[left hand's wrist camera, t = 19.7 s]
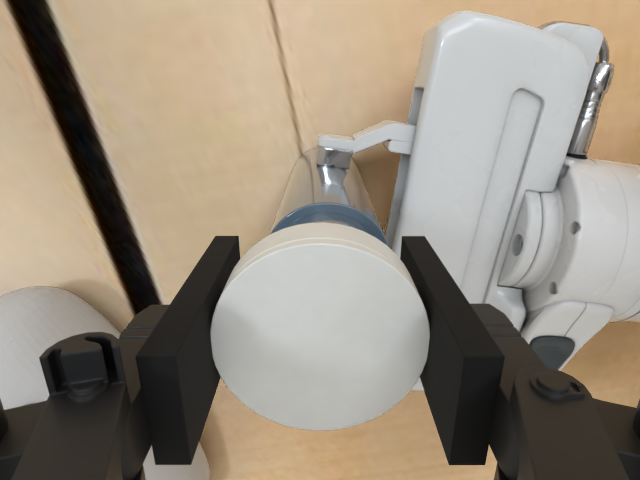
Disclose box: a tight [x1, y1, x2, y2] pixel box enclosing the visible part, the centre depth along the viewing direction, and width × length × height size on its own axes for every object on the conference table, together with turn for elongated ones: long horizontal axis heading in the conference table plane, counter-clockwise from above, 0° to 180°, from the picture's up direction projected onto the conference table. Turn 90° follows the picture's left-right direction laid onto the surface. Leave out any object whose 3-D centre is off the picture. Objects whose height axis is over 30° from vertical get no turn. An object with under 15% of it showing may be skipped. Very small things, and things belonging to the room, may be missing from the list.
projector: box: [0, 286, 210, 480], centre depth 29 cm, size 22×23×15 cm
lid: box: [210, 222, 430, 431], centre depth 11 cm, size 6×6×2 cm
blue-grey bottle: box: [269, 147, 389, 247], centre depth 22 cm, size 5×5×16 cm
